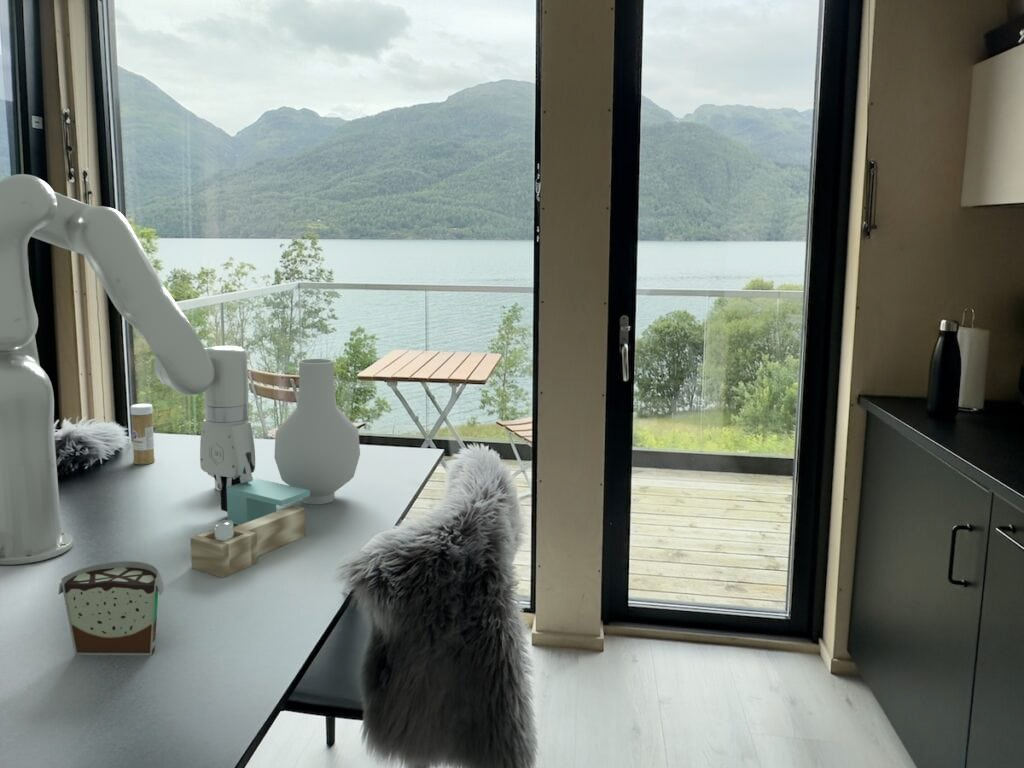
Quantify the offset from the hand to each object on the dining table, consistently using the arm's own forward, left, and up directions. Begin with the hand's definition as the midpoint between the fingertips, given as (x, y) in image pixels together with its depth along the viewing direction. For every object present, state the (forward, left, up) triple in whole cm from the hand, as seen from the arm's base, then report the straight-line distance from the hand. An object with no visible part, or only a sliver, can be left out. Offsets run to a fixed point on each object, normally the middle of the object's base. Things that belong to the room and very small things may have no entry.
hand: (230, 509), depth 150 cm
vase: (+16, -7, -1) cm, 17 cm away
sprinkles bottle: (+14, +44, -1) cm, 46 cm away
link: (-10, -18, -1) cm, 21 cm away
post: (-17, -18, -1) cm, 25 cm away
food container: (-41, -27, -1) cm, 49 cm away
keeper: (0, -10, -1) cm, 10 cm away
